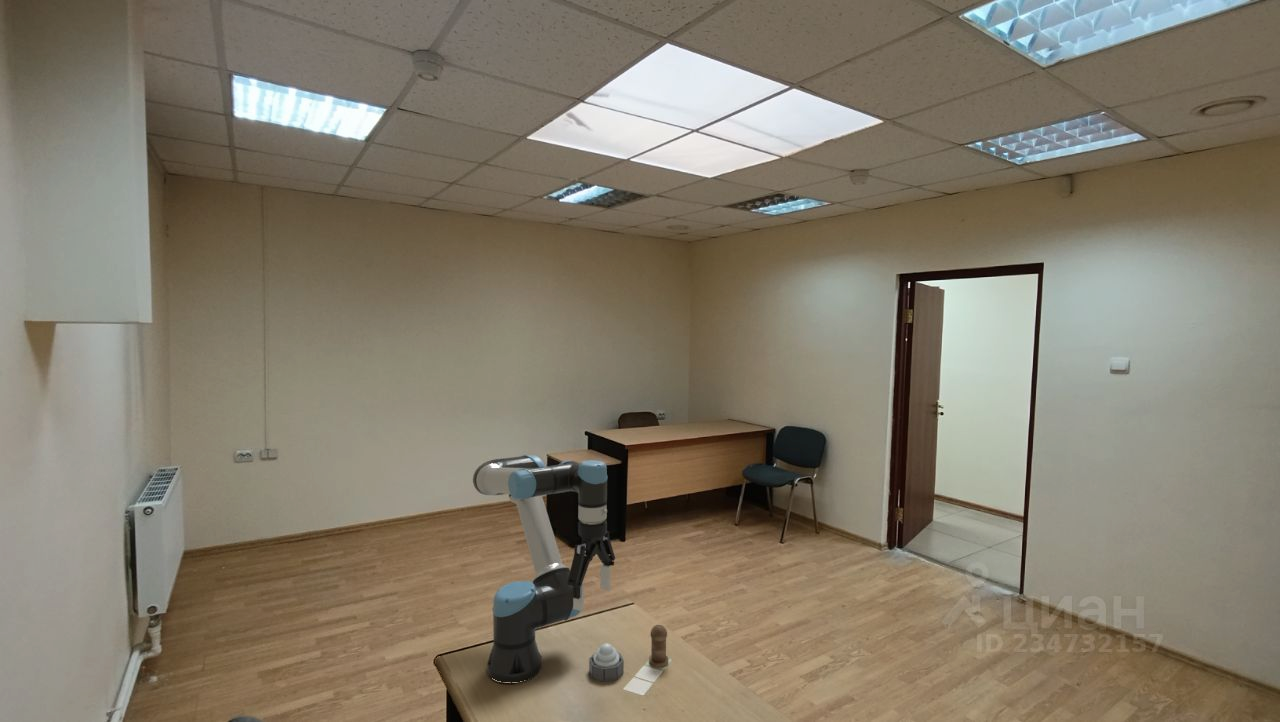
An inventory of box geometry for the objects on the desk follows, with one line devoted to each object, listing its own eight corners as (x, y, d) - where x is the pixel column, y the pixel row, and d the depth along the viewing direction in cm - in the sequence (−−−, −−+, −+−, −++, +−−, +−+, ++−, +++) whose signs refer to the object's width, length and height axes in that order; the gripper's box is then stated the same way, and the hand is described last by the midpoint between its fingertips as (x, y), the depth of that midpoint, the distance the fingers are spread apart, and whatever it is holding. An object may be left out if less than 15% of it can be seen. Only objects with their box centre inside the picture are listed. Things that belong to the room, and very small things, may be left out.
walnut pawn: (645, 664, 164) (645, 627, 163) (654, 654, 169) (654, 619, 168) (663, 669, 161) (663, 632, 161) (671, 659, 166) (671, 623, 166)
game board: (617, 692, 152) (617, 688, 152) (649, 655, 170) (649, 652, 170) (647, 702, 148) (647, 698, 148) (677, 663, 166) (677, 660, 166)
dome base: (584, 679, 158) (584, 663, 158) (600, 662, 166) (600, 647, 166) (612, 688, 154) (612, 671, 154) (628, 671, 162) (628, 655, 162)
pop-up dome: (588, 666, 159) (588, 647, 158) (601, 654, 165) (601, 635, 165) (611, 673, 155) (611, 653, 155) (623, 660, 162) (623, 641, 162)
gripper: (578, 536, 139) (578, 622, 140) (627, 509, 161) (626, 583, 162) (553, 531, 142) (553, 615, 143) (604, 506, 165) (604, 578, 166)
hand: (592, 599), depth 153 cm, fingers open, 13 cm apart
